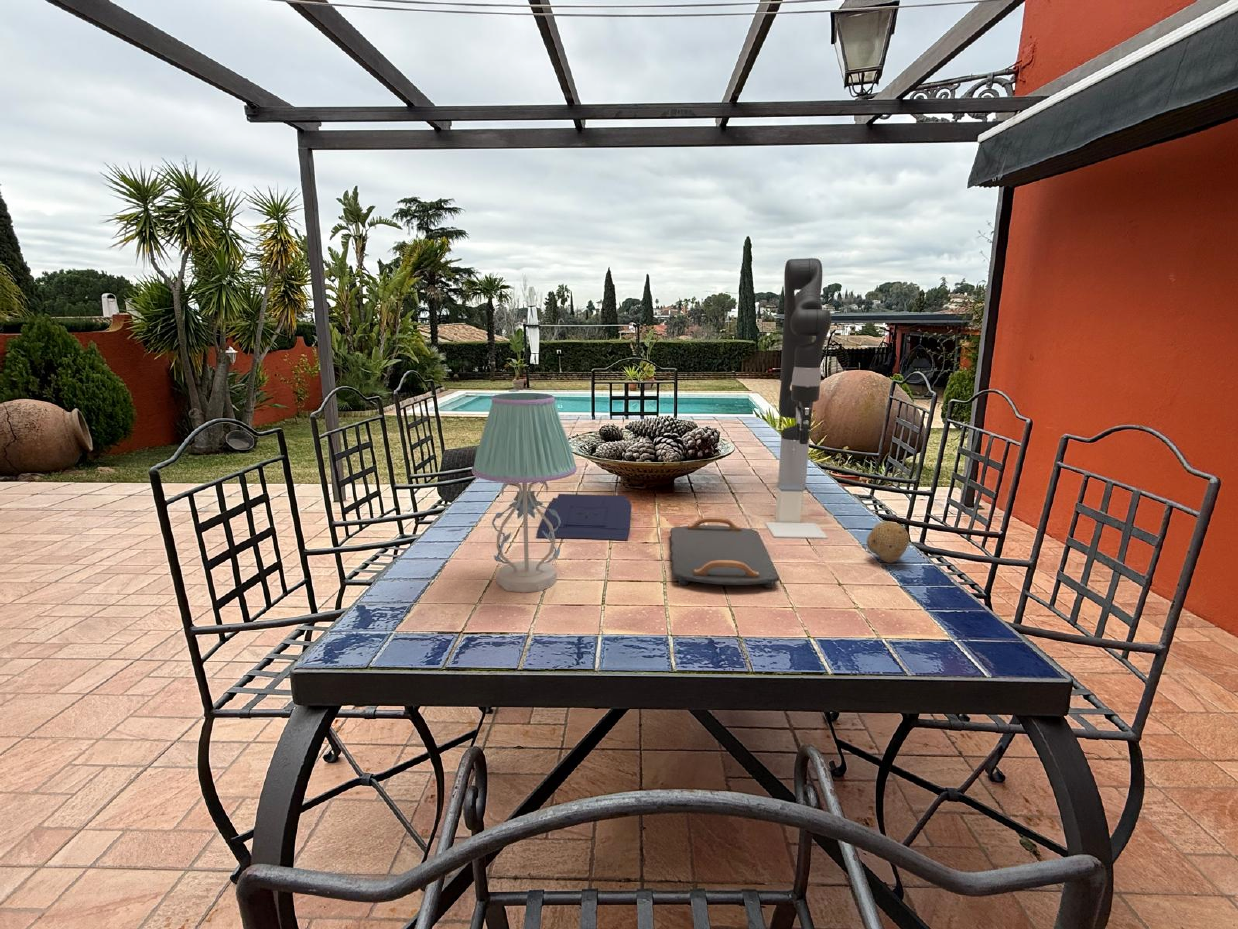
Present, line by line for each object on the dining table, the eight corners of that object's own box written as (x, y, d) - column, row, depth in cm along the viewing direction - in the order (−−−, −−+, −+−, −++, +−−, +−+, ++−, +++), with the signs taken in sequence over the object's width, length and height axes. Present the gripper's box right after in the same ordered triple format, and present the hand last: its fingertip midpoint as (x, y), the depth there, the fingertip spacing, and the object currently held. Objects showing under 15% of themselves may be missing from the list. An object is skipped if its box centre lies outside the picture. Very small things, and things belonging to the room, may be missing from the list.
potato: (865, 565, 150) (869, 525, 148) (864, 553, 158) (868, 514, 156) (907, 571, 147) (912, 529, 145) (904, 558, 155) (909, 518, 153)
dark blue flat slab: (632, 504, 194) (632, 493, 193) (628, 549, 166) (628, 537, 164) (552, 502, 195) (552, 490, 194) (535, 546, 167) (534, 534, 165)
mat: (765, 523, 180) (765, 522, 180) (815, 524, 180) (815, 523, 180) (774, 537, 169) (774, 536, 169) (827, 538, 168) (827, 537, 168)
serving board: (783, 597, 133) (785, 569, 132) (671, 593, 134) (672, 565, 133) (755, 536, 171) (757, 514, 169) (668, 533, 172) (669, 511, 171)
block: (775, 518, 186) (777, 484, 184) (796, 518, 186) (798, 485, 183) (779, 523, 181) (781, 489, 179) (800, 523, 181) (803, 489, 179)
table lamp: (569, 559, 152) (568, 390, 143) (584, 597, 131) (584, 402, 122) (475, 565, 147) (469, 390, 138) (475, 606, 126) (468, 403, 118)
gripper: (789, 380, 185) (785, 435, 189) (794, 386, 171) (790, 445, 175) (816, 381, 184) (812, 436, 187) (823, 386, 170) (818, 446, 174)
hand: (801, 440), depth 181 cm, fingers open, 8 cm apart
